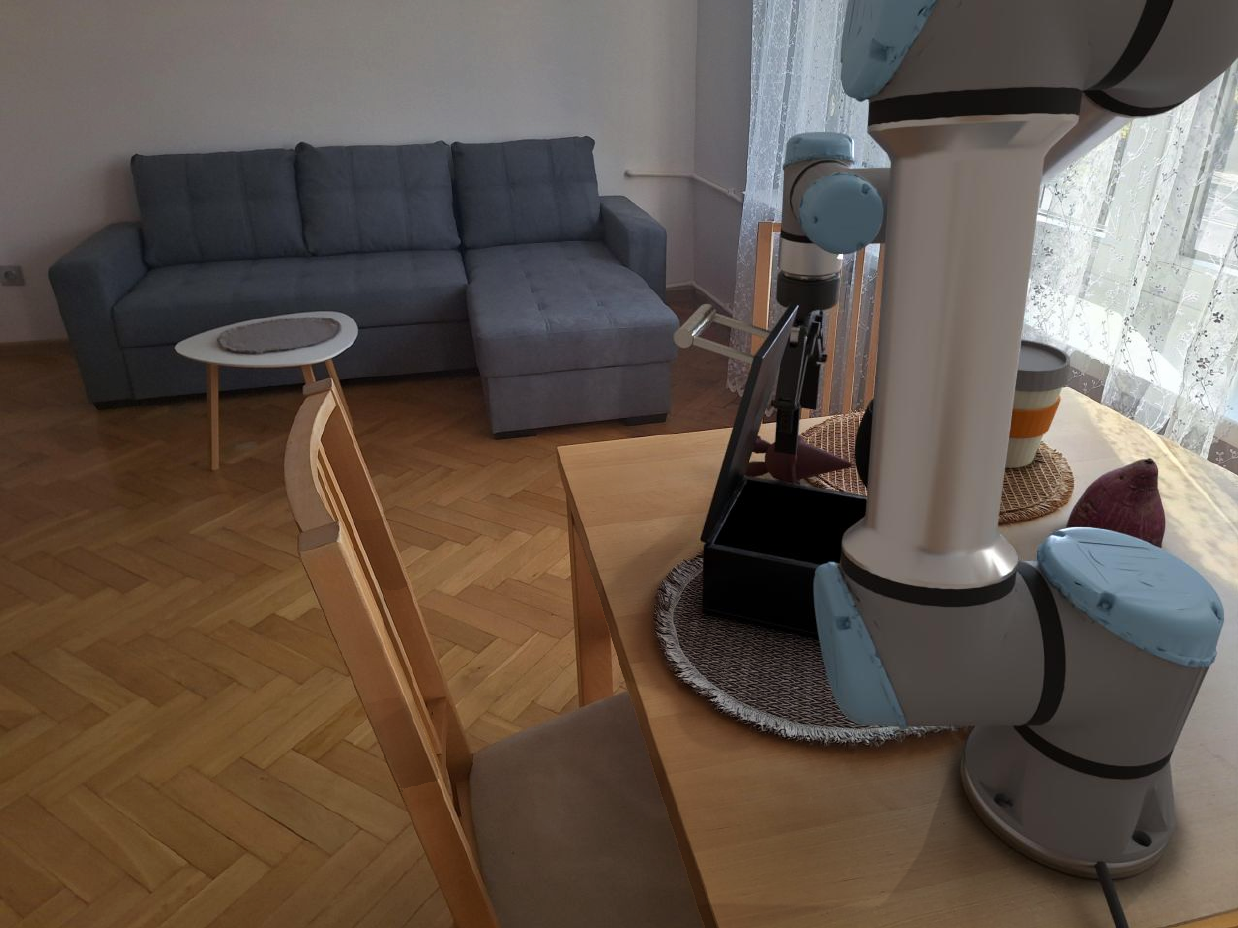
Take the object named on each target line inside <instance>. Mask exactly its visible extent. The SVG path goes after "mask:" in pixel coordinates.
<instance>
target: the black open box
mask: <svg viewBox="0 0 1238 928" xmlns="http://www.w3.org/2000/svg"><path fill="white" fill-rule="evenodd" d="M866 502H867V495H865V494H858V493H852V492H846V491H841V490H840V491H839V490H833V489H829V488H828V489H827V488H822V487H816V486H809V485H803V484H799V485H798V484H793V483H786V482H780V481H778V480H772V479H767V478H762V477H761V478H760V477H757V476H756V477H750V476H745V475H744V477H743V479H742V481H741V482H740V484H739V486H738V488H737V490H736V492H735V493H734V495H733V497H732V499H731V501H730V503H729V504H728V506H727V508H726V510H725V512H724V514H723V515H722V517H721V519H720V521H719V523H718V525H717V526H716V528H715V530H714V532H713V534H712V536H711V537H710V539H709V541H708V543H704V544H703V547H702V548H703V549H702V556H703V557H702V594H701V595H702V596H701V607H702V608H701V613H702V614H703V615H708V616H711V617H717V618H721V619H725V620H729V621H735V622H738V623H743V624H747V625H750V626H756V627H760V628H765V629H769V630H774V631H777V632H782V633H787V634H791V635H796V636H801V637H805V638H809V639H813V640H817V641H820V640H819V635H818V629H817V622H816V614H815V605H814V577H815V571H816V569H817V567H819V566H820V565H823V564H827V563H828V562H835V563H838V564H839V563H840V559H841V547H842V539H843V535H844V533H845V532H846V530H848V529H849V528H850V527H851V526H853V525H854V524H856V523H857V522H858V521H860V520H861V519H863V518H864V517H865V515H866Z"/></svg>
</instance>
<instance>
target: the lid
mask: <svg viewBox="0 0 1238 928" xmlns="http://www.w3.org/2000/svg"><path fill="white" fill-rule="evenodd" d="M798 306H799V305H797V304H794V303H791V304H790V305H789V307H788V308H787V307H786V310H785V311H784V313H783V314H782V315H781V317H780V318H779V319H778V321H777V323H775V325H774V326H773V328H772V330H769V329H765V328H762V327H761V326H760V327H759V326H756V325H753V324H750V323H747V322H744V321H742V320H738V319H735V318H732V317H728V316H726V315H723V314H719V313H717V310H716V308H715V307H714V306H713V305H712V304H710V303H704V304H702V305H700V306H699V307H698V308H697V309H696V310H695V312H693V314H692V315H690V316H689V317H688V319H687V320H685V321H684V322H683V324H682V325H681V326H680V327H679V328H678V329H677V330H676V331H674V334H673V342H674V344H675V345H676V346H677V347H678V348H680V349H683V350H684V349H686V350H687V349H689V348H691V347H692V346H695V347H698V348H701V349H704V350H707V351H710V352H712V353H715V354H719V355H721V356H724V357H727V358H730V359H734V360H737V361H739V362H742V363H746V364H748V365H750V368H749V371H748V375H747V379H746V381H745V385H744V388H743V392H742V395H741V399H740V402H739V406H738V409H737V413H736V416H735V419H734V423H733V426H732V429H731V433H730V436H729V440H728V443H727V446H726V449H725V453H724V457H723V460H722V464H721V467H720V469H719V473H718V476H717V480H716V482H715V483H716V484H715V487H714V491H713V494H712V497H711V501H710V504H709V507H708V511H707V514H706V517H705V521H704V524H703V528H702V530H701V535H700V538H699V541H700V542H702V543H704V544H705V543H708V541H709V539H710V537H711V536H712V534H713V532H714V530H715V528H716V526H717V525H718V523H719V521H720V519H721V517H722V515H723V514H724V512H725V510H726V508H727V506H728V504H729V503H730V501H731V499H732V497H733V495H734V493H735V492H736V490H737V488H738V486H739V484H740V482H741V481H742V479H743V477H744V476H745V473H746V471H747V467H748V464H749V462H751V461H750V460H751V458H752V455H753V453H754V452H753V448H754V445H755V442H756V439H757V436H759V433H760V429H761V426H762V424H763V420H764V416H765V413H766V410H767V407H768V404H769V401H770V398H771V394H772V391H773V388H774V386H775V382H776V379H777V377H778V376H777V375H778V374H779V369H780V363H781V360H782V357H783V354H784V350H785V347H786V344H787V341H788V338H789V335H790V331H791V328H792V325H793V322H794V319H795V316H796V312H797V309H798ZM713 322H714V323H717V324H719V325H723V326H727V327H729V328H732V329H735V330H739V331H741V332H745V333H748V334H750V335H752V336H753V335H754V336H757V337H758V338H759V337H760V338H762V339H764V341H763V342H762V344H760V345H761V346H760V347H759V348H758V349H757V350H756V352H755V354H752V353H751V354H750V353H748V352H745V351H742V350H739V349H736V348H732V347H730V346H727V345H724V344H720V343H718V342H714V341H712V340H709V339H706V338H703V337H701V335H703V333H704V332H705V331H706V330H707V329H708V328H709V327H710V325H711V324H712V323H713Z"/></svg>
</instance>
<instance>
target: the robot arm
mask: <svg viewBox="0 0 1238 928" xmlns="http://www.w3.org/2000/svg"><path fill="white" fill-rule="evenodd" d="M841 36H842V37H841V44H840V63H841V68H840V69H841V70H840V82H841V87H842V89H843V92H844V94H846V95H847V96H848V97H849V98H852V99H855V101H857V102H859V103H863V102H864V101H866V100H868V111H867V113H868V114H867V127H866V128H867V129H866V132H867V134H868V136H870V138H872V140H873V141H874V142H875V143H876V144H877V145H878V146H879V147H880V148H881V150H883V151H884V152H885V154H886V155H887V157H888V159H889V162H890V166H889V167H865V168H863V167H862V168H861V167H860V168H853V167H854V165H855V163H856V160H855V141H854V139H853V138H852V136H850V135H849V134H847V133H843V132H842V133H841V132H835V131H833V132H832V131H812V132H811V131H810V132H802V133H797V134H794V135H793V136H791V137H790V138H789V139H788V140H787V143H786V146H785V155H784V163H782V171H783V180H782V181H783V185H782V203H781V204H782V205H781V222H780V224H781V225H780V233H779V240H778V257H777V268H778V269H779V272H778V273H777V276H776V277H777V278H776V291H775V299H776V302H777V303H778V305H780V306H781V307H783V308H786V309H787V308H788V307H789V305H790V304H791V303H794V304H797V305H799V306H798V309H797V312H796V316H795V319H794V322H793V325H792V328H791V331H790V335H789V338H788V341H787V344H786V347H785V350H784V354H783V357H782V360H781V363H780V366H779V369H778V376H777V383H776V390H775V396H774V399H771V400H770V407H773V409H776V420H775V433H774V435H775V436H774V442H775V448H774V452H780V453H786V454H792V455H796V453H797V444H798V435H799V433H800V431H799V430H800V421H801V420H800V419H801V409H807V410H813V411H816V410H817V409H818V399H819V389H820V379H821V367H822V363H823V364H827V361H828V356H829V355H828V354H826V353H825V354H824V352H825V350H826V345H825V344H826V343H825V339H826V334H825V333H826V332H825V331H826V330H825V329H826V328H825V323H826V322H825V321H826V319H825V315H826V314H825V312H826V310H830V309H833V308H834V307H836V306H837V304H838V303H839V301H840V294H841V293H840V291H841V284H842V275H841V274H840V271H841V270H842V269H843V258H844V256H845V255H851V254H855V253H857V252H859V251H861V250H862V249H864V248H866V247H867V246H869V245H878V244H881V245H882V244H884V252H883V266H882V267H883V268H882V281H881V295H880V307H879V322H878V335H877V336H878V337H877V349H876V350H877V351H876V363H875V364H876V365H875V377H874V391H873V399H874V404H873V418H872V432H871V446H870V460H869V474H868V488H867V489H866V496H867V502H866V515H865V517H864V518H863V519H861V520H860V521H858V522H857V523H856V524H854V525H853V526H851V527H850V528H849V529H848V530H846V532H845V533H844V535H843V539H842V547H841V559H840V563H839V564H838V563H835V562H828V563H827V564H823V565H820V566H819V567H817V569H816V571H815V577H814V605H815V614H816V622H817V629H818V635H819V640H818V641H819V646H820V650H821V657H822V661H823V664H824V665H823V666H824V669H825V674H826V677H827V681H828V684H829V687H830V690H831V694H832V696H833V698H834V701H835V702H836V705H837V708H838V709H839V710H840V711H841V713H842V714H843V715H844V717H846V718H847V719H848V720H850V721H851V722H853V723H855V724H858V725H860V726H861V725H862V726H877V727H880V726H881V727H897V728H899V729H900V730H908V729H909V728H910V727H911V728H912V727H913V728H916V727H920V728H921V727H922V728H923V727H974V728H973V729H972V730H971V731H970V733H969V734H968V737H967V738H966V741H965V743H964V748H963V753H962V756H961V761H960V777H961V778H960V779H961V784H962V786H963V790H964V793H965V795H966V797H967V799H968V801H969V803H970V805H971V806H972V808H973V809H974V811H975V812H976V814H977V815H978V817H979V818H980V819H981V820H982V822H983V823H984V824H985V825H986V826H987V827H988V828H989V829H990V830H991V831H992V833H994V834H995V835H996V836H997V837H999V838H1000V839H1001V840H1002V841H1003V842H1004V843H1006V845H1009V847H1011V848H1012V849H1014V850H1016V851H1017V852H1019V853H1021V854H1022V855H1024V856H1025V857H1027V858H1029V859H1030V860H1032V861H1034V862H1036V863H1039V864H1041V865H1043V866H1046V867H1047V868H1050V869H1053V870H1055V871H1058V872H1062V873H1065V874H1069V875H1072V876H1075V877H1076V876H1077V877H1081V878H1088V879H1095V880H1096V879H1097V880H1099V883H1100V885H1101V888H1102V892H1103V894H1104V897H1105V899H1106V904H1107V906H1108V909H1109V913H1110V914H1111V918H1112V920H1113V924H1114V926H1115V928H1130V926H1129V923H1128V921H1127V918H1126V915H1125V912H1124V909H1123V907H1122V904H1121V901H1120V898H1119V895H1118V893H1117V890H1116V887H1115V885H1114V882H1113V880H1114V879H1123V878H1129V877H1132V876H1136V875H1138V874H1141V873H1143V872H1145V871H1147V870H1148V869H1150V868H1152V867H1153V866H1154V865H1155V864H1156V863H1157V862H1158V861H1159V860H1160V858H1161V857H1162V856H1163V855H1164V853H1165V852H1166V849H1167V847H1168V845H1169V842H1170V840H1171V837H1172V835H1173V832H1174V830H1175V824H1176V810H1175V809H1176V807H1175V798H1174V788H1173V787H1174V786H1173V777H1172V768H1171V758H1172V755H1173V753H1174V750H1175V748H1176V745H1177V743H1178V741H1179V739H1180V736H1181V733H1182V731H1183V728H1184V727H1185V723H1186V722H1187V719H1188V717H1189V714H1190V713H1191V710H1192V708H1193V705H1194V703H1195V701H1196V698H1197V696H1198V694H1199V691H1200V690H1201V687H1202V685H1203V683H1204V680H1205V678H1206V676H1207V674H1208V671H1209V669H1210V666H1211V665H1212V664H1214V663H1215V661H1216V657H1217V655H1218V652H1217V646H1218V642H1219V638H1220V636H1221V631H1222V629H1223V626H1224V622H1225V611H1224V606H1223V603H1222V600H1221V598H1220V596H1219V594H1218V593H1217V591H1216V590H1215V588H1214V587H1213V586H1212V584H1211V583H1210V582H1209V580H1207V579H1206V578H1205V577H1204V576H1203V575H1202V574H1201V573H1200V572H1198V570H1196V569H1195V568H1194V567H1193V566H1191V564H1188V563H1187V562H1186V561H1185V560H1182V559H1181V558H1180V557H1178V556H1177V555H1175V554H1173V553H1171V552H1169V551H1167V550H1166V549H1163V548H1159V547H1156V546H1154V545H1152V544H1150V543H1148V542H1146V541H1143V540H1141V539H1138V538H1135V537H1132V536H1129V535H1126V534H1122V533H1118V532H1115V531H1110V530H1105V529H1099V528H1090V527H1071V528H1066V527H1065V528H1062V529H1058V530H1055V531H1053V533H1052V534H1051V535H1049V536H1047V537H1046V538H1045V539H1044V540H1043V542H1042V543H1041V544H1040V545H1039V546H1038V548H1037V551H1036V559H1035V560H1022V561H1021V560H1020V561H1019V556H1018V553H1017V551H1016V549H1015V548H1014V547H1013V546H1012V545H1011V544H1010V542H1009V541H1008V540H1007V539H1006V538H1005V537H1004V536H1003V535H1002V534H1001V533H1000V532H999V531H998V528H999V520H1000V519H999V518H1000V511H1001V503H1002V495H1003V486H1004V479H1005V472H1006V471H1005V470H1006V467H1005V465H1006V457H1007V449H1008V441H1009V433H1010V425H1011V417H1012V409H1013V401H1014V393H1015V385H1016V377H1017V370H1018V362H1019V354H1020V346H1021V339H1022V336H1023V329H1024V323H1025V322H1024V321H1025V314H1026V306H1027V297H1028V289H1029V281H1030V274H1031V268H1032V267H1031V265H1032V257H1033V249H1034V242H1035V233H1036V226H1037V218H1038V210H1039V203H1040V195H1041V188H1043V187H1044V186H1045V185H1046V184H1048V183H1049V182H1050V181H1052V180H1054V179H1055V178H1056V177H1057V176H1058V175H1060V174H1061V173H1063V172H1065V170H1067V169H1068V168H1069V167H1071V166H1072V165H1074V164H1076V162H1078V161H1080V160H1081V158H1083V157H1085V156H1086V155H1087V154H1089V153H1090V152H1091V151H1094V149H1096V148H1097V147H1098V146H1100V145H1101V144H1102V143H1104V142H1105V141H1106V140H1108V139H1109V138H1111V137H1112V136H1113V135H1115V134H1116V133H1118V132H1119V131H1120V130H1121V129H1123V128H1125V126H1127V125H1128V124H1129V123H1131V122H1133V120H1136V119H1148V118H1154V117H1157V116H1160V115H1163V114H1166V113H1168V112H1170V111H1173V110H1174V109H1177V107H1179V106H1180V105H1182V104H1184V103H1185V102H1186V101H1187V100H1189V99H1191V98H1192V97H1194V96H1195V95H1197V94H1198V93H1200V92H1201V91H1202V90H1204V89H1205V88H1206V87H1207V86H1209V85H1210V84H1211V83H1212V82H1214V81H1215V80H1216V79H1218V78H1219V77H1220V76H1222V74H1224V73H1225V72H1226V71H1227V70H1228V69H1229V68H1230V67H1231V66H1232V65H1233V64H1234V63H1235V62H1236V61H1237V60H1238V0H847V4H846V9H845V14H844V23H843V28H842V35H841Z"/></svg>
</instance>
